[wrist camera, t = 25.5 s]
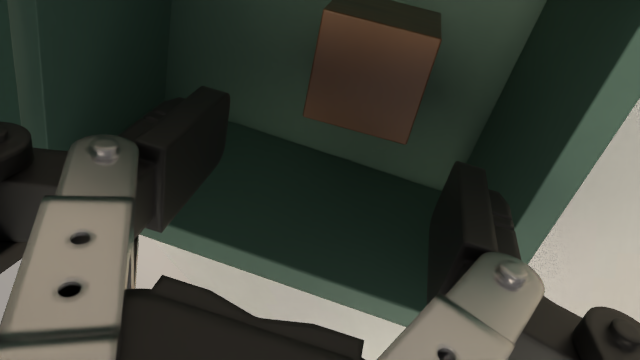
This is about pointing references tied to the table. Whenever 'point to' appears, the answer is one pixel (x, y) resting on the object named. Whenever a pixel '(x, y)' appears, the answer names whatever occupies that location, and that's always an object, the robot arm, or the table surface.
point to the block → (372, 66)
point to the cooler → (336, 142)
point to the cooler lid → (7, 71)
